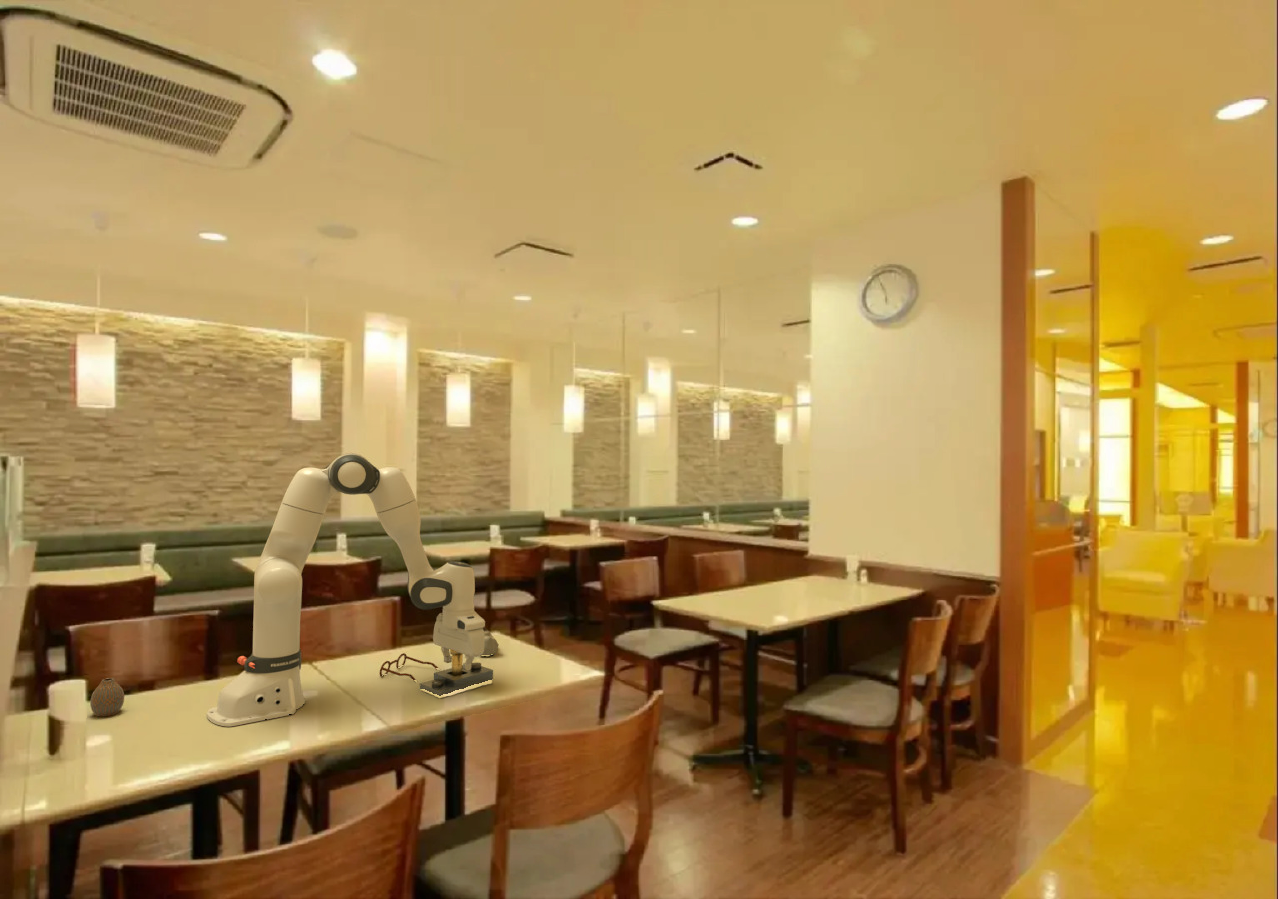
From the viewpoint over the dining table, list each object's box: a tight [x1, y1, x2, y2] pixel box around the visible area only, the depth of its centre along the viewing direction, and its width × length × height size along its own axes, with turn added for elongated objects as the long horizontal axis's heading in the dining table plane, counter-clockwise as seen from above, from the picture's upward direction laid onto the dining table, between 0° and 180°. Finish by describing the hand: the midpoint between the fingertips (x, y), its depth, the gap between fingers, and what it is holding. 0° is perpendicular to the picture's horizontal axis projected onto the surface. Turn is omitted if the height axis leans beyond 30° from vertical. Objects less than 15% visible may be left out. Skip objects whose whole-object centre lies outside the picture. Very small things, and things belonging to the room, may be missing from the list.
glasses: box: [379, 652, 439, 681], centre depth 219 cm, size 13×13×5 cm
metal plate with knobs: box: [419, 662, 494, 696], centre depth 208 cm, size 18×10×5 cm, turn 139°
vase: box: [89, 677, 125, 718], centre depth 182 cm, size 7×7×9 cm
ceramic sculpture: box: [482, 627, 499, 655], centre depth 242 cm, size 11×9×15 cm
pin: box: [449, 649, 464, 677], centre depth 208 cm, size 4×4×11 cm
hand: (457, 665), depth 208 cm, fingers open, 8 cm apart
